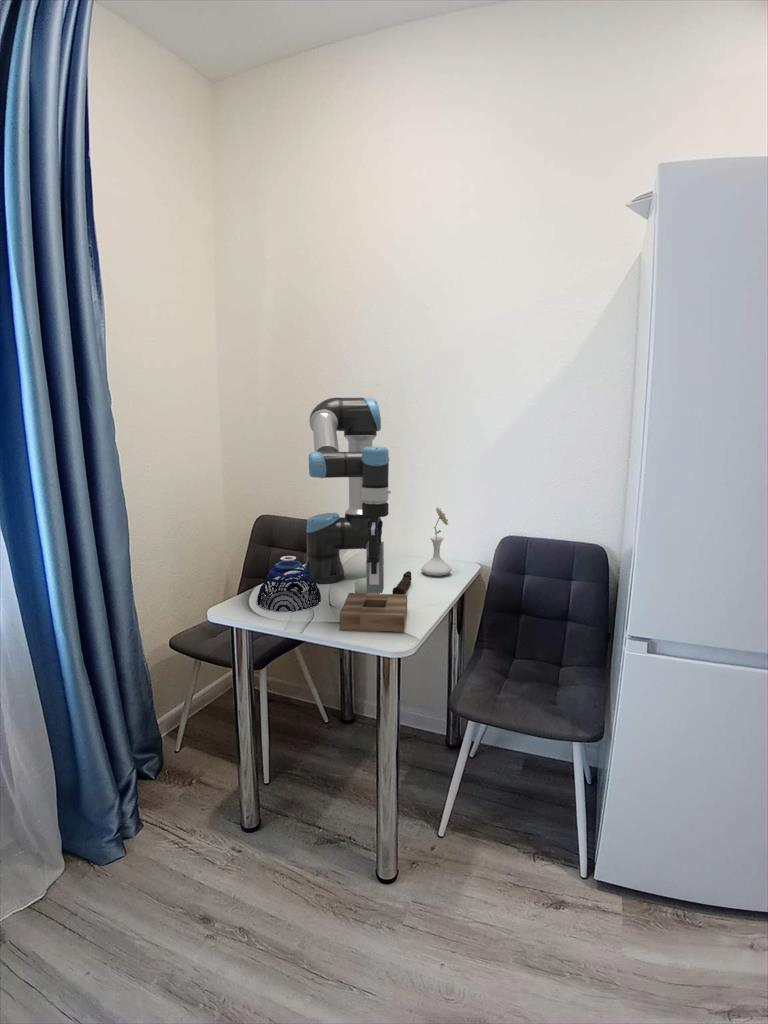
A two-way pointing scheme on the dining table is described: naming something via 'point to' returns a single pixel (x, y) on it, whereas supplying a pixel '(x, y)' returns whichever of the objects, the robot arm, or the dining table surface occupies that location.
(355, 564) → the dining table surface
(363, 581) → the round stub
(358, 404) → the robot arm
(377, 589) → the square bar
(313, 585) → the decorative bowl
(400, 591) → the hand tool
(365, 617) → the socket block
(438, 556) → the flower in vase
